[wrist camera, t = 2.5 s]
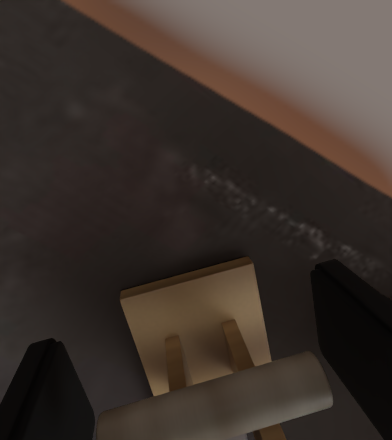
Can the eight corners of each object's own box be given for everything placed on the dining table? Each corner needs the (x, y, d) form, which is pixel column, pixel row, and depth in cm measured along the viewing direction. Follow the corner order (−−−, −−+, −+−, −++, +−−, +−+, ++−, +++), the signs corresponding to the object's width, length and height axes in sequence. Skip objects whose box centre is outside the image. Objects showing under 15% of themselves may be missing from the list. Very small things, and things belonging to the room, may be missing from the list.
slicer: (120, 290, 23) (92, 498, 10) (248, 255, 23) (360, 414, 11) (165, 418, 27) (181, 673, 15) (272, 385, 27) (374, 606, 15)
